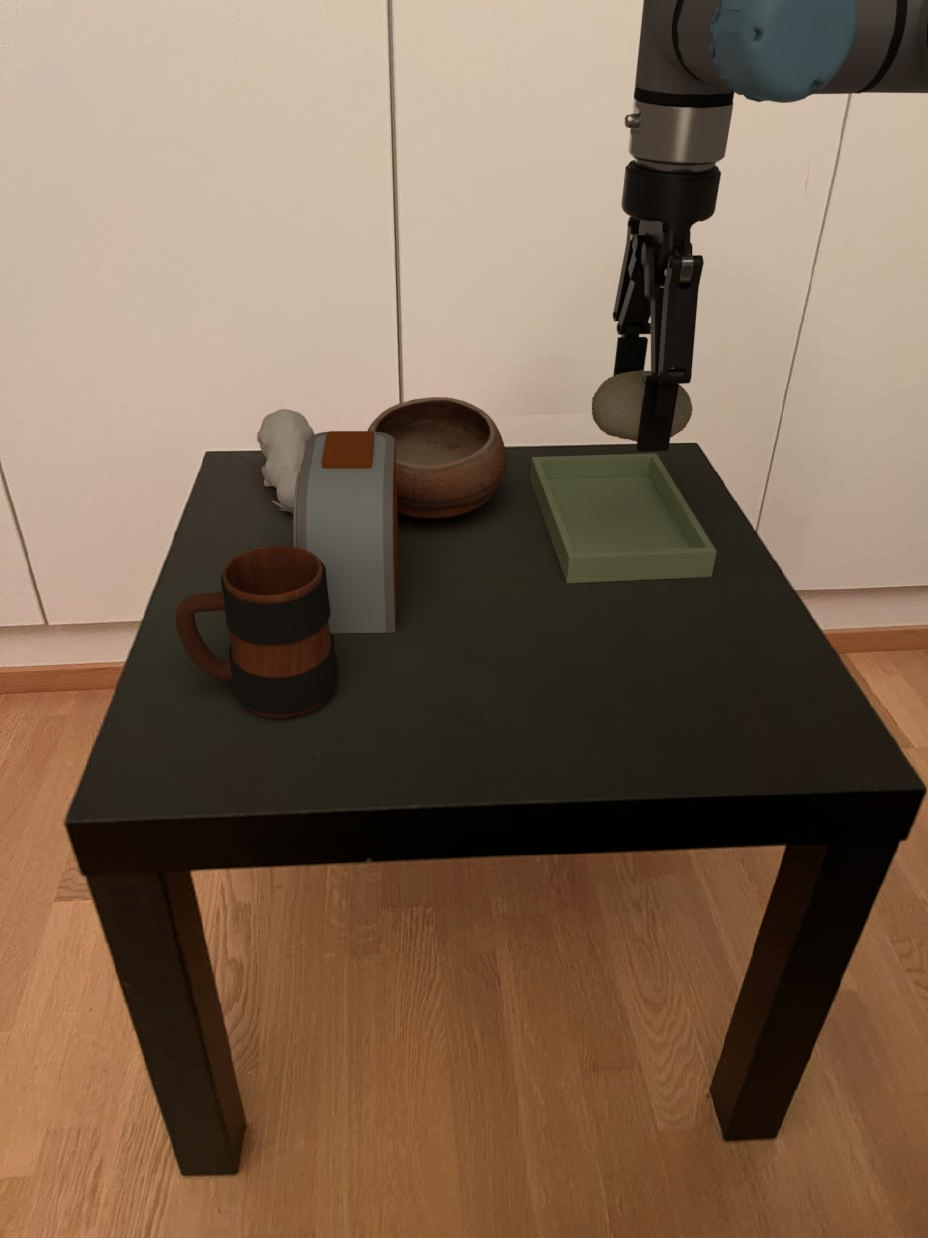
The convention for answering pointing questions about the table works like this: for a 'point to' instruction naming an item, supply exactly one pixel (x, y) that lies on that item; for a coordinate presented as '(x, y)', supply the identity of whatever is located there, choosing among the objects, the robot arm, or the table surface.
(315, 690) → the mug
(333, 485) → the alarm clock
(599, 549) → the tray
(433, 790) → the table surface
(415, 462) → the bowl
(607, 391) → the sea urchin shell
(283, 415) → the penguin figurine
